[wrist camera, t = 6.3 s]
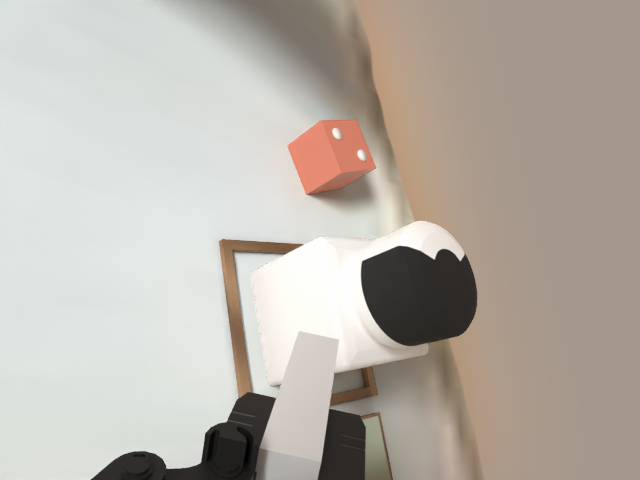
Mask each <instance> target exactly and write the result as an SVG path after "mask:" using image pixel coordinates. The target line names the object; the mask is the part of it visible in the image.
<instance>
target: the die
mask: <svg viewBox="0 0 640 480" xmlns="http://www.w3.org/2000/svg"><path fill="white" fill-rule="evenodd" d="M288 149H289V151H290V154H291V156H292V159H293V162H294V164H295V167H296V169H297V172H298V174H299V177H300V180H301V182H302V185H303V187H304V190H305V193H306V195H307V194H313V193H319V192H324V191H330V190H336V189H341V188H343V187H345V186H346V185H348V184H350V183H352V182H353V181H355V180H357V179H358V178H360V177H362V176H363V175H365V174H367V173H369V172H370V171H372V170H374V169H375V168H376V167H375V164H374V162H373V159H372V157H371V154H370V152H369V149H368V147H367V144H366V142H365V139H364V137H363V134H362V132H361V129H360V127H359V124H358V122H357V120H321V121H320V122H318V123H317V124H316V125H314V126H313V127H312V128H310V129H309V130H308V131H306V132H305V133H304V134H303V135H301V136H300V137H299V138H297V139H296V140H295V141H293V142H292V143H291V144H289V145H288Z"/></svg>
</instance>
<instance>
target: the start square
mask: <svg viewBox="0 0 640 480" xmlns="http://www.w3.org/2000/svg"><path fill="white" fill-rule="evenodd" d="M219 244H220V252H221V259H222V267H223V275H224V283H225V291H226V299H227V307H228V315H229V323H230V331H231V338H232V346H233V354H234V362H235V370H236V378H237V386H238V394H239V398H240V397H242V396H243V395H244V394H246V393H247V392H251V386H250V378H249V371H248V363H247V356H246V348H245V341H244V334H243V326H242V319H241V311H240V304H239V296H238V289H237V281H236V274H235V266H234V259H233V251H239V252H261V253H283V254H287V253H289V252H291V251H293V250H295V249H297V248H299V247H300V246H302V245H304V244H289V243H273V242H257V241H241V240H225V239H222V240H221V241H219ZM362 370H363V375H364V380H365V385H366V388H362V389H357V390H352V391H347V392H343V393H338V394H333V395H331V399H330V405H334V404H338V403H343V402H347V401H352V400H356V399H360V398H365V397H369V396H374V395H378V393H377V388H376V383H375V378H374V373H373V368H372V366H370V367H365V368H362Z"/></svg>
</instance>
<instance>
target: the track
mask: <svg viewBox="0 0 640 480" xmlns="http://www.w3.org/2000/svg"><path fill="white" fill-rule="evenodd" d="M361 419H362V421H363V423H364V425H365V426H366V440H365V441H366V449H365V480H393V477H392V472H391V467H390V462H389V457H388V452H387V448H386V443H385V438H384V433H383V428H382V423H381V418H380V413H372V414H369V415H365V416H361Z"/></svg>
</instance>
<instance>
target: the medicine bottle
mask: <svg viewBox="0 0 640 480" xmlns="http://www.w3.org/2000/svg"><path fill="white" fill-rule="evenodd" d="M250 278H251V284H252V290H253V297H254V303H255V309H256V315H257V321H258V327H259V334H260V340H261V346H262V352H263V358H264V364H265V371H266V377H267V382H268V384H269V385H271V386H277V385H281V383H282V380H283V377H284V374H285V371H286V368H287V365H288V362H289V359H290V356H291V353H292V350H293V347H294V344H295V341H296V338H297V335H298V332H299V331H301V332H306V333H311V334H315V335H320V336H325V337H329V338H334V339H339V345H338V351H337V358H336V365H335V372H334V374H335V373H340V372H345V371H350V370H355V369H360V368H365V367H370V366H375V365H379V364H384V363H389V362H394V361H399V360H404V359H409V358H414V357H419V356H423V355H426V354H427V353H428V352H429V346H428V343H430V342H434V341H439V340H443V339H448V338H452V337H456V336H459V335H461V334H463V333H464V332H465V331H466V330H467V328H468V327H469V325H470V323H471V322H472V320H473V318H474V315H475V312H476V307H477V289H476V283H475V278H474V274H473V271H472V268H471V265H470V263H469V261H468V258H467V256H466V255H465V253H464V251H463V249H462V248H461V246H460V245H459V243H458V242H457V241H456V240H455V239H454V238H453V236H452V235H451V234H450V233H448V232H447V231H446V230H445V229H443V228H442V227H440V226H438V225H436V224H433V223H430V222H427V221H417V222H413V223H411V224H409V225H407V226H404V227H402V228H400V229H398V230H396V231H393V232H391V233H389V234H387V235H385V236H382V237H380V238H378V239H361V238H341V237H318V238H316V239H314V240H312V241H310V242H308V243H306V244H304V245H302V246H300V247H299V248H297V249H295V250H293V251H291V252H289V253H287V254H285V255H283V256H281V257H279V258H277V259H275V260H273V261H271V262H269V263H267V264H265V265H263V266H261V267H260V268H258V269H256V270H254V271H252V273H251V274H250Z"/></svg>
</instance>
